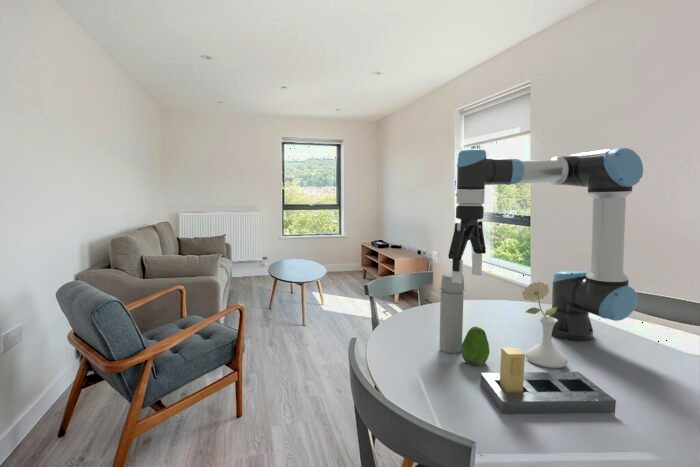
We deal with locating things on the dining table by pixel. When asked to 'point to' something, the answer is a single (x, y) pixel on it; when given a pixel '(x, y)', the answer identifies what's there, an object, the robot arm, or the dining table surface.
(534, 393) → the jack panel
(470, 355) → the avocado
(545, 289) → the flower in vase
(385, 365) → the dining table surface
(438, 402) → the dining table surface
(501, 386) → the yellow tall block
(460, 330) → the water bottle
